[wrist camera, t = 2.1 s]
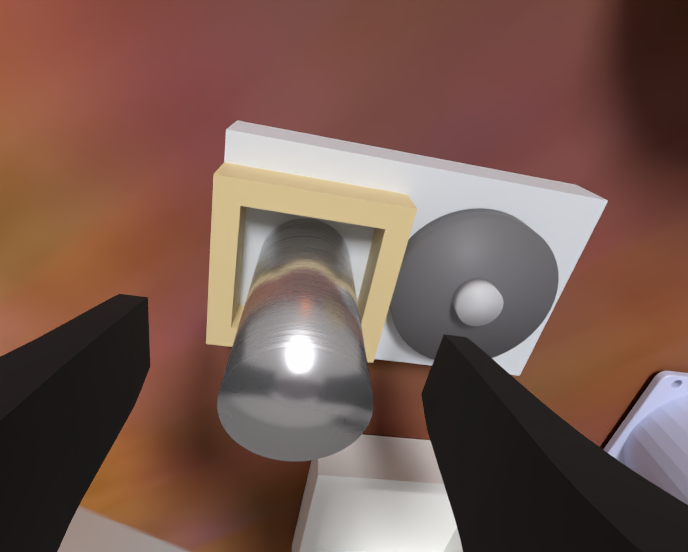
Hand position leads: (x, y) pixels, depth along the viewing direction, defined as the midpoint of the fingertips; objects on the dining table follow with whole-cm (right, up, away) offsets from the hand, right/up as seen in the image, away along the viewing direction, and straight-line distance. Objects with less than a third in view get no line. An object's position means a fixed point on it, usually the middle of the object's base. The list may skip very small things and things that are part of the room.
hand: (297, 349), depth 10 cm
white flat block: (+3, +3, +7) cm, 8 cm away
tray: (+4, -12, +15) cm, 19 cm away
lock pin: (0, +2, +4) cm, 5 cm away
